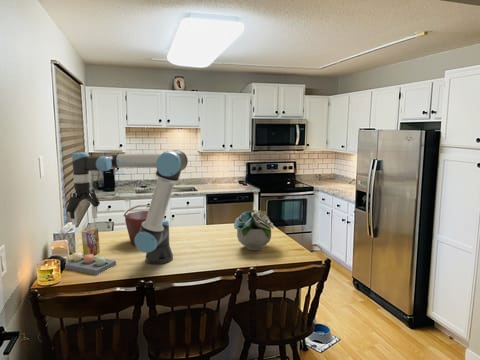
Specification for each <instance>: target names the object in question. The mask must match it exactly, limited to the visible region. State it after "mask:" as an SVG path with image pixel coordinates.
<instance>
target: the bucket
mask: <svg viewBox="0 0 480 360" xmlns="http://www.w3.org/2000/svg"><path fill="white" fill-rule="evenodd" d="M141 207H142V208H143V207H148V208H149V207H150V204H138V205H135V206H133V207H131V208H129V209H127V210H126V211H125V212H124V214H123V217H125V218H124V219H125V220H124V222H125V226H126V229H127V233H128V236H129V242H130V245H131V246H133V247H136V245H135V242H134V240H135V236H136V235H137V234H138V233H139V231H140V228H141V224H142V222H144V221H146V218H147V214H148V211H149V210H140V211H133V212H130V211H132V210H134V209H137V208H141ZM128 212H129V213H128Z"/></svg>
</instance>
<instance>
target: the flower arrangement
mask: <svg viewBox="0 0 480 360" xmlns="http://www.w3.org/2000/svg"><path fill="white" fill-rule="evenodd" d="M267 215H268V213H267V211H265V210H264V211H263V210H259V209H257V210H255V209H254V210H248V211H243V212H241V214H240V215H239V216H238V217H237V218H235V220H234V224H233V228H234V229H235V230H236V234H237V236H236V238H237V240H238V242H239V243H241V244H242V246H244V247H246V249H247V250H249V251H253V252H254V251H260V250H261V249H262V247H265V246H266V245H267V244H268V243H270V241H271V239H272V229H273V230H274V229H275V225H274V223H273V222H271V220H270V216H269V215H268V216H267Z"/></svg>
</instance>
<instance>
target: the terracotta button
mask: <svg viewBox="0 0 480 360" xmlns="http://www.w3.org/2000/svg"><path fill="white" fill-rule="evenodd" d="M94 257H95V255H93V254H87V255H84V264H87V265H90V264H92V263H94Z"/></svg>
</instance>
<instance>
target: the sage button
mask: <svg viewBox="0 0 480 360" xmlns="http://www.w3.org/2000/svg"><path fill="white" fill-rule="evenodd" d="M95 257H96V258H95V263H96V266H97V267H102V266H104V265H106V260H105V259H106V256H104V255H100V256H95Z"/></svg>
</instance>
